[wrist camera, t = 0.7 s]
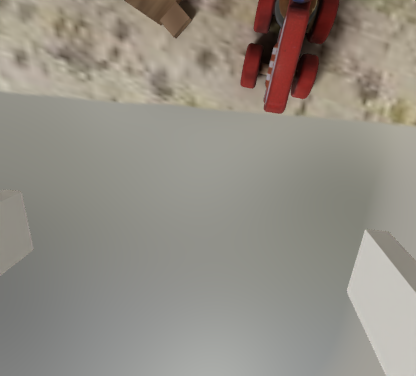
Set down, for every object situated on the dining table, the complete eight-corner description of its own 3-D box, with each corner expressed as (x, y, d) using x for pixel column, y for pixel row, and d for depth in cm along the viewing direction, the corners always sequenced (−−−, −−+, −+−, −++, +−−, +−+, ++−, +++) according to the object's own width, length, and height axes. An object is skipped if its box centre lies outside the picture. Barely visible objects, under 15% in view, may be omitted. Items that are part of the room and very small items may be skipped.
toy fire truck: (339, -21, 26) (392, -84, 16) (297, 112, 31) (320, 124, 21) (266, -34, 26) (277, -104, 17) (236, 99, 31) (230, 105, 21)
